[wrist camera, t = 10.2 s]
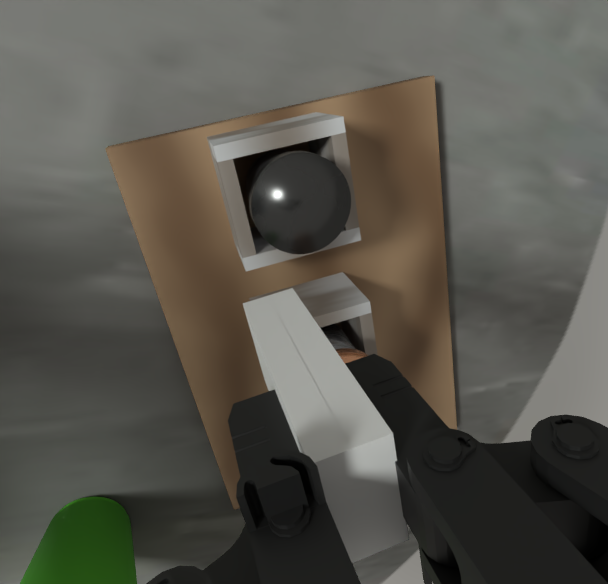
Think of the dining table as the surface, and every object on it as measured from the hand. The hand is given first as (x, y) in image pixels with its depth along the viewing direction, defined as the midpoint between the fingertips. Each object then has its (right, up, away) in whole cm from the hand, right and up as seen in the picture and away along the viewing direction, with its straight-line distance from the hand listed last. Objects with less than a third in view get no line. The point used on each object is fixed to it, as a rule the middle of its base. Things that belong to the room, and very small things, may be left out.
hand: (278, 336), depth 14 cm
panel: (+2, 0, +18) cm, 18 cm away
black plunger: (-1, +7, +11) cm, 13 cm away
